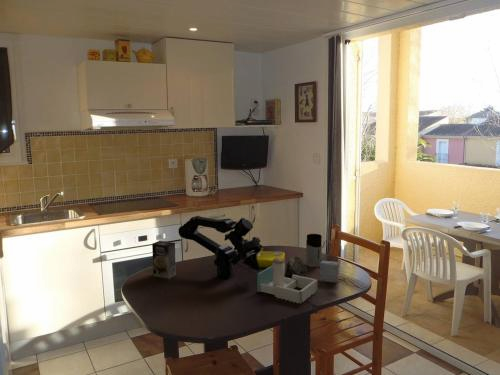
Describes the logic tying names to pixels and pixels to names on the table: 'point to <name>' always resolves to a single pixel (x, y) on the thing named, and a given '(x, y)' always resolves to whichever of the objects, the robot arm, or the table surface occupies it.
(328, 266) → the medicine box
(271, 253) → the yellow box
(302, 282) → the dock housing
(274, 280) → the salt jar
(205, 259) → the table surface
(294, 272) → the fossil
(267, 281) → the white and teal drawer
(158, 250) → the coffee box
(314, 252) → the glass holder
